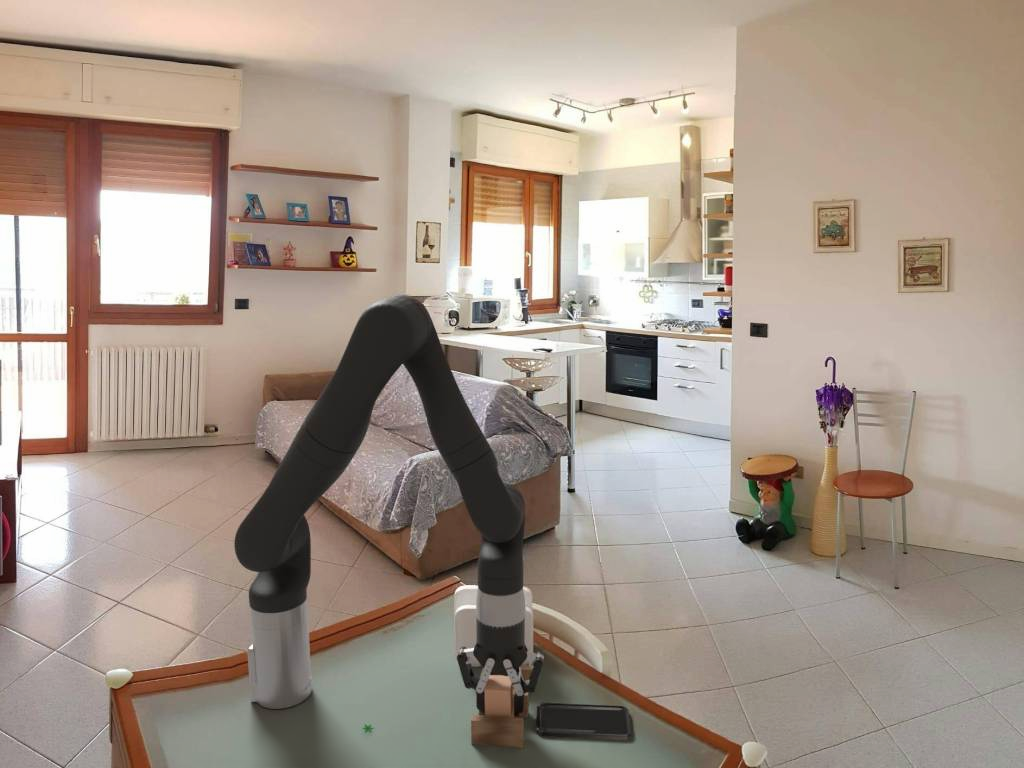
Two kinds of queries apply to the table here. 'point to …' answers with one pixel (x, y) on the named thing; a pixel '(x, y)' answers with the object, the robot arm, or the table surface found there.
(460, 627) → the cable organizer
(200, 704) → the table surface
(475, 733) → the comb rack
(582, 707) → the phone
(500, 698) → the plug block
